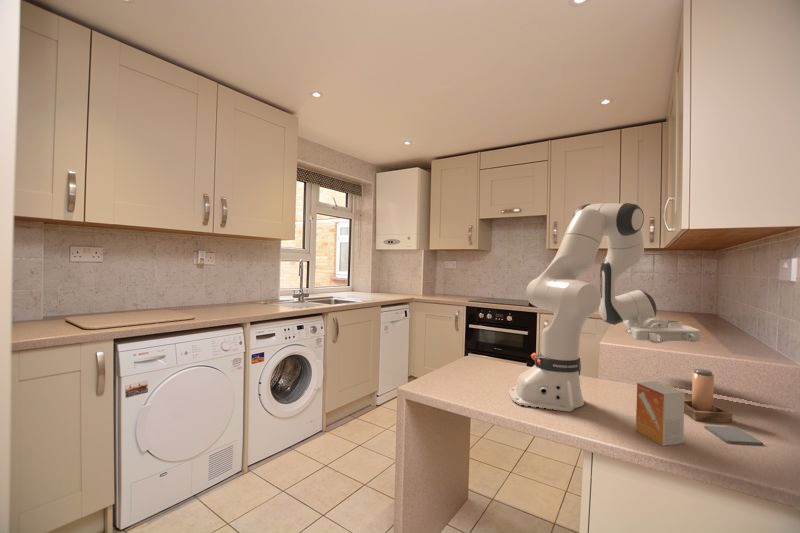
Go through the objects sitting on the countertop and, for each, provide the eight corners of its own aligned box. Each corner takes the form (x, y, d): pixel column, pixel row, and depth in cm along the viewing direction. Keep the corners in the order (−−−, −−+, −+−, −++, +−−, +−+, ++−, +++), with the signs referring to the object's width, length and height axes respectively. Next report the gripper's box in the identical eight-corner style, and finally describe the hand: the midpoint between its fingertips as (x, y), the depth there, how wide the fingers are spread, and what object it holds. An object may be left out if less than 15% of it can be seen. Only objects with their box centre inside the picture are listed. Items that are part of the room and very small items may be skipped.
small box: (635, 430, 97) (636, 382, 97) (655, 428, 98) (656, 380, 98) (662, 446, 89) (663, 393, 89) (684, 443, 90) (685, 391, 90)
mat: (726, 442, 91) (726, 440, 91) (704, 427, 99) (704, 425, 99) (763, 445, 90) (763, 442, 90) (737, 429, 98) (737, 427, 98)
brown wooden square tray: (695, 420, 103) (695, 412, 103) (675, 407, 112) (675, 399, 112) (731, 422, 102) (731, 413, 102) (708, 408, 111) (708, 400, 111)
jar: (698, 417, 105) (699, 373, 104) (687, 410, 110) (688, 368, 109) (717, 418, 104) (718, 374, 104) (705, 411, 109) (706, 368, 109)
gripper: (623, 321, 133) (643, 329, 120) (685, 321, 131) (712, 329, 117) (623, 338, 134) (643, 348, 120) (684, 339, 131) (712, 349, 117)
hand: (678, 339), depth 118 cm, fingers open, 8 cm apart
